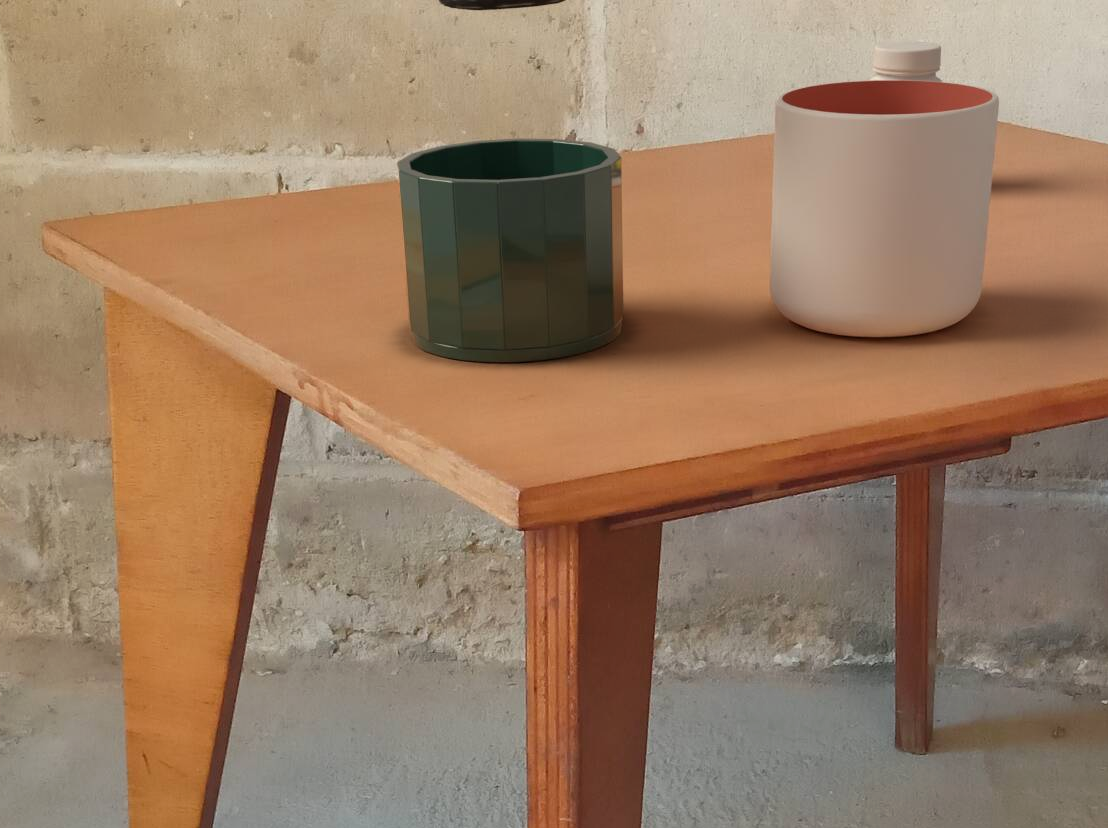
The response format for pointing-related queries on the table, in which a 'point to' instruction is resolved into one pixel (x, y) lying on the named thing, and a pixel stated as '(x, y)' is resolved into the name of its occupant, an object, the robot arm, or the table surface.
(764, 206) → the table surface
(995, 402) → the table surface
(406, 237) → the green cup
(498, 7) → the pill bottle
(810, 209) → the cup
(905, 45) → the supplement bottle
